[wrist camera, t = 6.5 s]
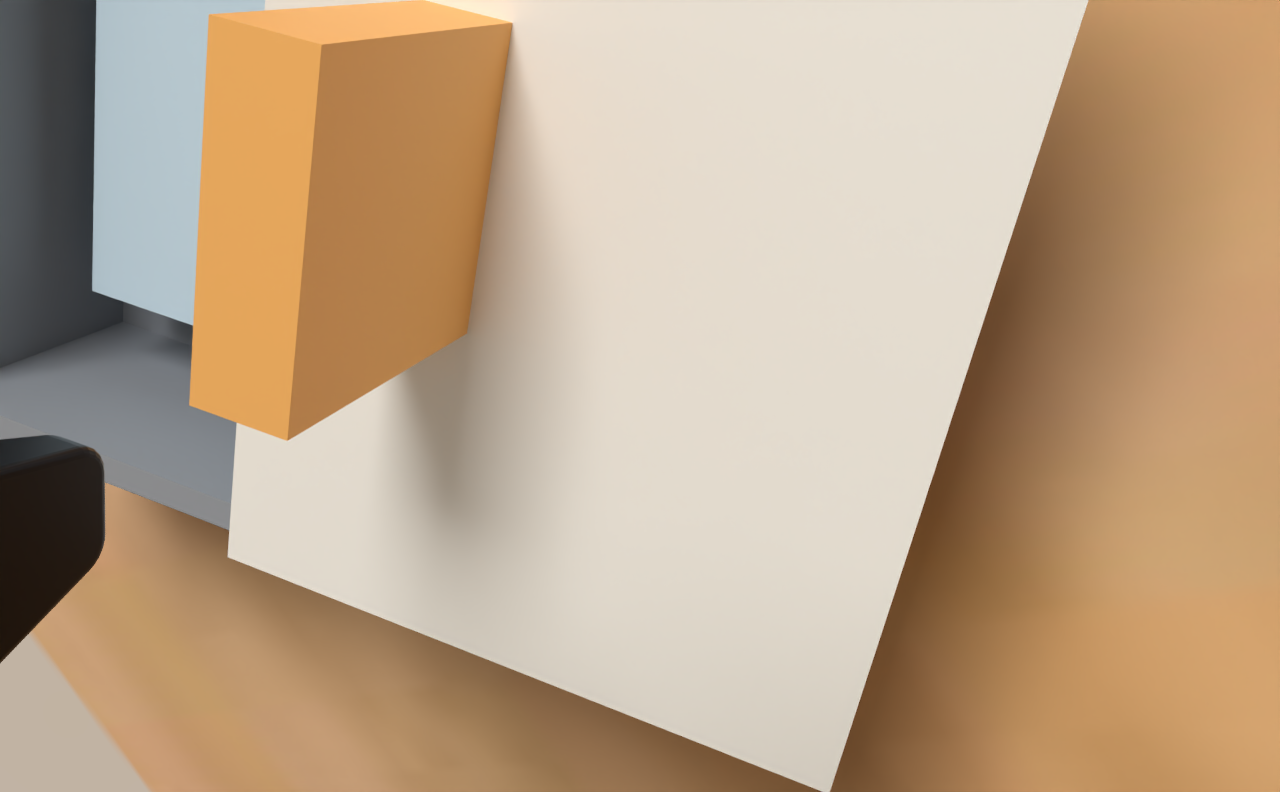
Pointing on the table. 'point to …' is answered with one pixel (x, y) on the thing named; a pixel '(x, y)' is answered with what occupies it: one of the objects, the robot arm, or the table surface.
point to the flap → (612, 323)
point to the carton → (108, 239)
